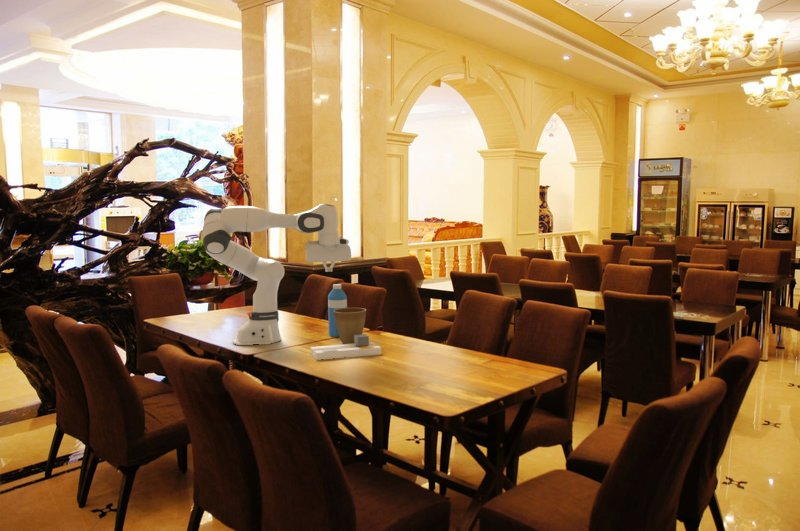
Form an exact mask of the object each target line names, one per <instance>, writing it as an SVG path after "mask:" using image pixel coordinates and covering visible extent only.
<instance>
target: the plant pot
mask: <svg viewBox="0 0 800 531" xmlns="http://www.w3.org/2000/svg"><path fill="white" fill-rule="evenodd" d="M366 316H367V309H366V308H364V307H363V308H362V307H347V308H341V309H336V310H334V317H335V322H336V326H337V329H338V333H339V336H340V337H339V339H340V341H341V343H342V344H352V343H354V335H360V334H364V333H363V332H364V328H365V322H366Z"/></svg>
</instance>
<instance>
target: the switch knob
mask: <svg viewBox="0 0 800 531" xmlns="http://www.w3.org/2000/svg"><path fill="white" fill-rule="evenodd" d="M369 342H370V338H369V335H368V334H366V333H362V334H360V335H354V344H355V345H356V347H362V346H368V345H369Z"/></svg>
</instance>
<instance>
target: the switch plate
mask: <svg viewBox="0 0 800 531" xmlns="http://www.w3.org/2000/svg"><path fill="white" fill-rule="evenodd" d="M310 355H311V356H312V357H313V358H314V359H315V360H316V361H322V360H321V359H324V360H332V359H333V358H335V359H344V357H346V358H354V357H367V356H377V355H382V346H380V345H377V344H376V343H375V342H374V341H369V345H368V346H362V347H356V345H355V344H354V343H352V344H343V343H342V344H332V345H321V346H310Z"/></svg>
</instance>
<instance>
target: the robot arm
mask: <svg viewBox="0 0 800 531" xmlns="http://www.w3.org/2000/svg"><path fill="white" fill-rule="evenodd" d="M338 225H339V217H338V210H337V208H336V206H335V205H332V204H327V203H320V204H318V205H317V206H315V207H314V208H311V209H309V210H303V211H300V212H297V213H293V214H291V213H290V214H288V213H275V212H271V211H269V210H267V209H266V208H262V207H257V206H250V205H235V206H234V205H233V206H232V205H231V206H226V207H224V208H223V209H222V208H221V207H219V208H218V207H212V208H210V209H209V210H207V212H206V214H205V216H204V222H203V227H202V232H203V233H202V245H203V248H204V249H205V252H206V254H208V255H209V256H210V257H211V258H213V260H216V261H217V262H219V263H221V264H223V265H225V266H227V267H229V268H232V269H233V270H235V271H238V272H239V273H241V274H243V275H244V276H246V277H248V278H250V280H252V281H257V282H256V283H257V285H256V289H255V291H254V293H253V295H252V306H253V307H252V310H253V311H247V313H246V315H247V316H248V320H247V321H246V322H245V323H243V324H242V325H241V326H240V327H238V330H237V333H236V337H234V338H232V344H233V343H234V344H233V345H235V344H236V345H235V346H251V345H252V346H253V344H259V345H272V344H273V343H276V342H280V341H282V337H281V333H280V328H279V320H280V318H279V310H278V290H279V286H280V283H281V281H282V279H283V278H284V276H285V267H284V266H283V263H281V262H279V261H278V260H276V259H272V258H265V257H261V256H259V255H257V254H256V253H254V252H252V251H251V249H249V248H247V247H245V246H243V245H241V244H239V243H238V242H236V241H233V240H232V234H233V233H235V232H243V233H246V232H247V233H257V232H264V231H266V230H269V229H274V228H277V229H278V228H280V229H294V230H296V231H298V232H300V233H302V234H313V233H316V232H317V234H318V235H317V237H318V239H317V240H309V241H307V242H305V244H304V247H305V248H304V250H305V261H306V262H307V263H320V262H321V263H322V266H324V267H323V268H325V270H324V271H325V272H327V273H329V272H333V268H334V266H335V265H336V262H347V261H348V262H349V261H351V259H352V250H351V247H350V245H349V242H350V241H349V239H346V238H344V237H341V236H339V232H338ZM328 262H330V264H331V265H330V267H327V265H328V264H327V263H328ZM271 343H272V344H271Z"/></svg>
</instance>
